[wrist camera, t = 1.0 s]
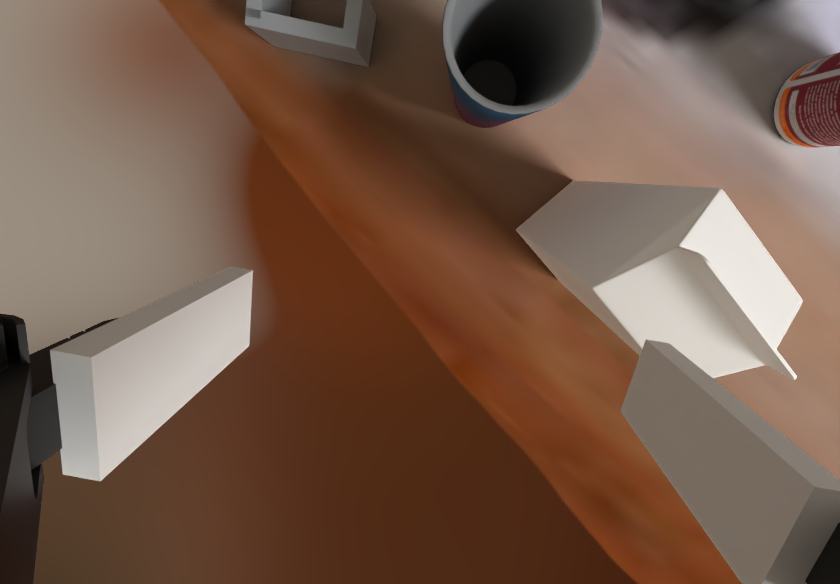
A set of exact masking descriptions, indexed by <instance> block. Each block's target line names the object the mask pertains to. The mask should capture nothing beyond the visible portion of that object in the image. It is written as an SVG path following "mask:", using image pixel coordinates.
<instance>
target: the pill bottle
mask: <svg viewBox="0 0 840 584" xmlns="http://www.w3.org/2000/svg"><path fill="white" fill-rule="evenodd" d="M774 120H775V125H776V128H777V130H778V132H779V134H780V135H781V136H782V137H783V138H784V139H785V140H786V141H788V142H789V143H791V144H793V145H796V146H800V147H807V148H812V147H828V146H840V52H839V53H836V54H833V55H829V56H826V57H823V58H820V59H817V60H815V61H812V62H810V63H808V64H806V65H804V66H803V67H801V68H799V69H798V70H797V71H795V72H794V73H793V74H792V75H791V76H790V77H789V78H788V79H787V81H786V82H785V83H784V85H783V86H782V88H781V90H780V91H779V94H778V96H777V99H776V102H775V107H774Z"/></svg>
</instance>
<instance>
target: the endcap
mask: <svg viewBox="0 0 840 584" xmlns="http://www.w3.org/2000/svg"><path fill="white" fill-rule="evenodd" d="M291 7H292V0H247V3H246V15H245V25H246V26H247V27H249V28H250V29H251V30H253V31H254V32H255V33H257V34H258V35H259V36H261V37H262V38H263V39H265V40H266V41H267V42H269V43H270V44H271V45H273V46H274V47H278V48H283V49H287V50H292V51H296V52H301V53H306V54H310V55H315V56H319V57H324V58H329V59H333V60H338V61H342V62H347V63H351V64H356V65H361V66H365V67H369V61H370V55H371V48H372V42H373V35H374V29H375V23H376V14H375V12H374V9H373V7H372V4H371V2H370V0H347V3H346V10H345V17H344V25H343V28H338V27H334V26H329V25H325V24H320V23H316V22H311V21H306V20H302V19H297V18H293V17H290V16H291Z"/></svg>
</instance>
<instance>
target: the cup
mask: <svg viewBox="0 0 840 584" xmlns="http://www.w3.org/2000/svg"><path fill="white" fill-rule="evenodd" d="M602 17H603V14H602V6H601V0H447V3H446V6H445V10H444V17H443V24H442V38H443V47H444V52H445V57H446V62H447V66H448V71H449V76H450V81H451V85H452V90H453V95H454V99H455V104H456V107H457V109H458V112H459V113H460V115H461V116H462V117H463V118H464V119H465V120H466V121H467V122H469V123H470V124H472V125H474V126H477V127H482V128H488V127H493V126H497V125H500V124H503V123H506V122H508V121H511V120H514V119H517V118H520V117H523V116H526V115H529V114H532V113H534V112H537V111H540V110H543V109H545V108H547V107H549V106H551V105H553V104H555V103H557V102H558V101H560V100H561V99H562V98H564V97H565V96H566V95H568V94H569V93H570V92H571V91H572V90H573V89H574V88H575V87H576V86H577V84H578V83H579V82H580V81H581V80H582V78H583V77H584V75H585V74H586V72H587V71H588V69H589V68H590V66H591V64H592V61H593V59H594V57H595V54H596V52H597V49H598V45H599V41H600V37H601V33H602Z"/></svg>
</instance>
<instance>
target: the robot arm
mask: <svg viewBox="0 0 840 584" xmlns="http://www.w3.org/2000/svg"><path fill="white" fill-rule="evenodd" d="M252 275H253V270H248V269H243V268H237V267H231V266H230V267H228V268H226V269H223V270H221V271H219V272H217V273H215V274H213V275H211V276H208V277H206V278H204V279H202V280H200V281H197V282H195V283H193V284H191V285H189V286H187V287H185V288H182V289H180V290H179V291H176V292H174V293H172V294H170V295H167V296H166V297H163V298H161V299H159V300H157V301H154V302H152V303H150V304H148V305H146V306H144V307H142V308H140V309H137V310H135V311H133V312H131V313H129V314H127V315H124V316H122V317H120V318H116V319H111V320H107V321H103V322H101V323H99V324H97V325H94V326H92V327H90V328H88V329H86V330H85V332H84V331H81V332H79V333H77V334H75V335H72V336H71V337H70V339H68V338H66V339H64V340H62V341H59V342H57V343H55V344H53V345H50V346H48V347H46V348H44V349H42V350H40V351H37V352H35V353H33V354H31V355H29V351H28V342H27V334H26V327H25V322H24V320H23V319H21V318H19V317H16V316H14V315H6V314H0V584H33V581H34V571H35V561H36V552H37V542H38V532H39V522H40V512H41V502H42V493H43V483H44V474H43V466H42V463H43V462H44V461H45V460H47V459H48V458H49V457H51V456H52V455H53V454H55V453H56V452H58V451H59V450H61V460H62V470H63V475H69V476H74V477H80V478H86V479H91V480H96V481H101V480H102V479H103V478H104V477H106V476H107V475H108V474H109V473H110V472H111V471H112V470H113V469H114V468H115V467H117V466H118V465H119V464H120V463H121V462H122V461H123V460H124V459H125V458H126V457H128V456H129V455H130V454H131V453H132V452H133V451H134V450H135V449H136V448H137V447H139V446H140V445H141V444H142V443H143V442H144V441H145V440H146V439H147V438H148V437H149V436H151V435H152V434H153V433H154V432H155V431H156V430H157V429H158V428H159V427H160V426H161V425H163V424H164V423H165V422H166V421H167V420H168V419H169V418H170V417H171V416H173V415H174V414H175V413H176V412H177V411H178V410H179V409H180V408H181V407H182V406H183V405H185V404H186V403H187V402H188V401H189V400H190V399H191V398H192V397H193V396H194V395H196V394H197V393H198V392H199V391H200V390H201V389H202V388H203V387H204V386H205V385H207V384H208V383H209V382H210V381H211V380H212V379H213V378H214V377H215V376H216V375H217V374H219V373H220V372H221V371H222V370H223V369H224V368H225V367H226V366H227V365H229V364H230V363H231V362H232V361H233V360H234V359H235V358H236V357H237V356H238V355H239V354H241V353H242V352H243V351H244V350H245V349H246V348H247V347H248V346H249V340H250V319H251V298H252ZM621 413H622V414H623V416H624V417H625V419H626V420H627V421H628V423H629V424H630V426H631V427H632V429H633V430H634V431H635V433H636V434H637V436H638V437H639V438H640V440H641V441H642V443H643V444H644V446H645V447H646V448H647V450H648V451H649V453H650V454H651V456H652V457H653V458H654V460H655V461H656V463H657V464H658V465H659V467H660V468H661V470H662V471H663V473H664V474H665V475H666V477H667V478H668V480H669V481H670V482H671V484H672V485H673V487H674V488H675V490H676V491H677V492H678V494H679V495H680V497H681V498H682V500H683V501H684V502H685V504H686V505H687V507H688V508H689V509H690V511H691V512H692V514H693V515H694V517H695V518H696V519H697V521H698V522H699V524H700V525H701V526H702V528H703V529H704V531H705V532H706V534H707V535H708V536H709V538H710V539H711V541H712V542H713V543H714V545H715V546H716V548H717V549H718V551H719V552H720V553H721V555H722V556H723V558H724V559H725V561H726V562H727V563H728V565H729V566H730V568H731V569H732V570H733V572H734V573H735V575H736V576H737V578H738V579H739V580H740V582H741V583H742V584H806V583H807V584H840V480H839V479H838V478H837V477H835V476H834V475H833V474H832V473H830V472H829V471H828V470H827V469H825V468H824V467H823V466H822V465H820V464H819V463H818V462H817V461H815V460H814V459H813V458H812V457H810V456H809V455H808V454H807V453H805V452H804V451H803V450H802V449H800V448H799V447H798V446H797V445H795V444H794V443H793V442H792V441H790V440H789V439H788V438H787V437H785V436H784V435H783V434H782V433H780V432H779V431H778V430H777V429H775V428H774V427H773V426H772V425H770V424H769V423H768V422H767V421H765V420H764V419H763V418H762V417H760V416H759V415H758V414H757V413H755V412H754V411H753V410H752V409H751V408H749V407H748V406H747V405H746V404H744V403H743V402H742V401H741V400H739V399H738V398H737V397H736V396H734V395H733V394H732V393H731V392H729V391H728V390H727V389H726V388H724V387H723V386H722V385H721V384H719V383H718V382H717V381H716V380H714V379H713V378H712V377H711V376H709V375H708V374H707V373H706V372H704V371H703V370H702V369H701V368H699V367H698V366H697V365H696V364H694V363H693V362H692V361H691V360H689V359H688V358H687V357H686V356H684V355H683V354H682V353H681V352H679V351H678V350H677V349H676V348H674V347H673V346H672V345H671V344H669V343H665V342H659V341H653V340H648V339H646V340H645V343H644V346H643V349H642V352H641V355H640V357H639V360H638V363H637V366H636V369H635V372H634V375H633V377H632V380H631V383H630V386H629V389H628V392H627V395H626V397H625V400H624V403H623V406H622V409H621Z"/></svg>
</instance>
